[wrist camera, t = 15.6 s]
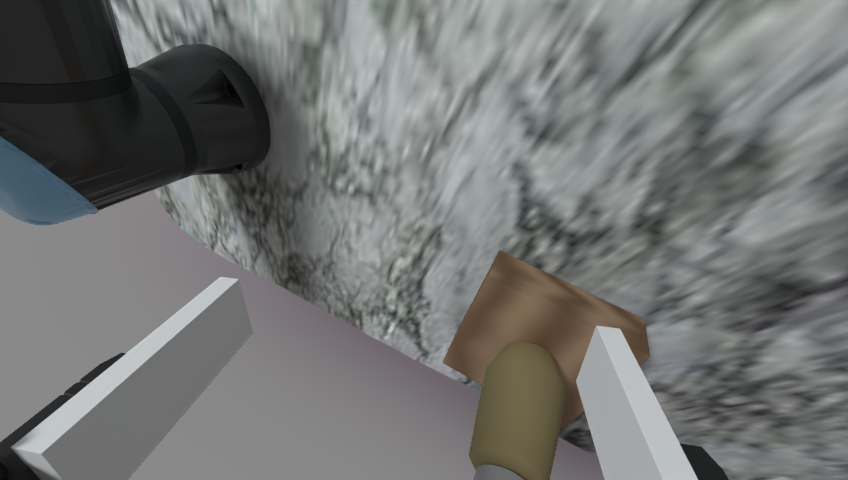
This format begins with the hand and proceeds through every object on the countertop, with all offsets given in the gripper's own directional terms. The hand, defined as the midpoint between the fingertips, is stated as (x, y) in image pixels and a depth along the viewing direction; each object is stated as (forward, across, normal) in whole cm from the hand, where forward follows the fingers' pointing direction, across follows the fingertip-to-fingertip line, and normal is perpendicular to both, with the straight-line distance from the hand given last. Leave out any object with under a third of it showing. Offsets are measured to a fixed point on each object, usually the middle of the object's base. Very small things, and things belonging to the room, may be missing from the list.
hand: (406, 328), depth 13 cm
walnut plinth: (+23, +11, -19) cm, 32 cm away
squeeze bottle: (+19, +10, -20) cm, 29 cm away
